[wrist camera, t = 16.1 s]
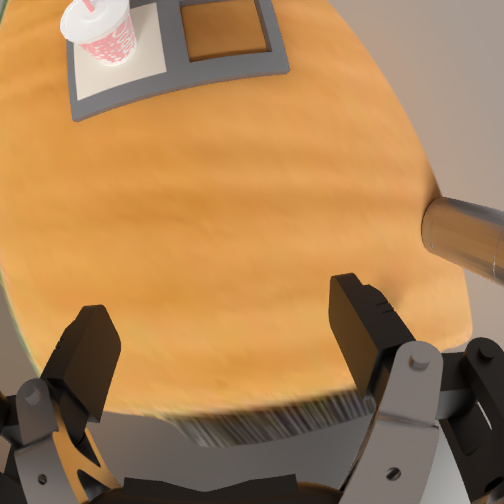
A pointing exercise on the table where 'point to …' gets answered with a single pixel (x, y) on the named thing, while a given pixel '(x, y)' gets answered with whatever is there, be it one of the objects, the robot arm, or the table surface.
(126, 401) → the table surface
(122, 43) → the beverage cup
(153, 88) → the hole board
